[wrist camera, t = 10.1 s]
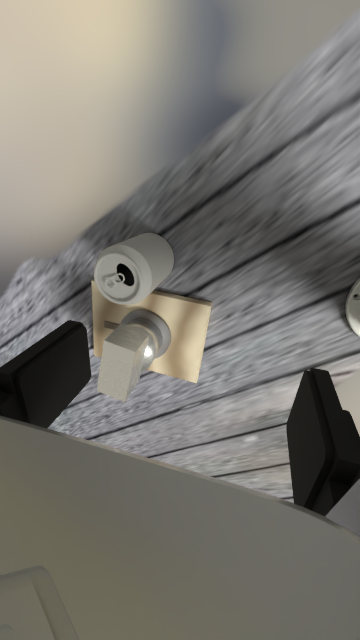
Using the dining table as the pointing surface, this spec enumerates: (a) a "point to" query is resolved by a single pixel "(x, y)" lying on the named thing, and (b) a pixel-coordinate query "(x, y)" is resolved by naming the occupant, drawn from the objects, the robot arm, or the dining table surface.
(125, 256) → the can
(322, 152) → the dining table surface
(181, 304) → the base plate
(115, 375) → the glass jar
